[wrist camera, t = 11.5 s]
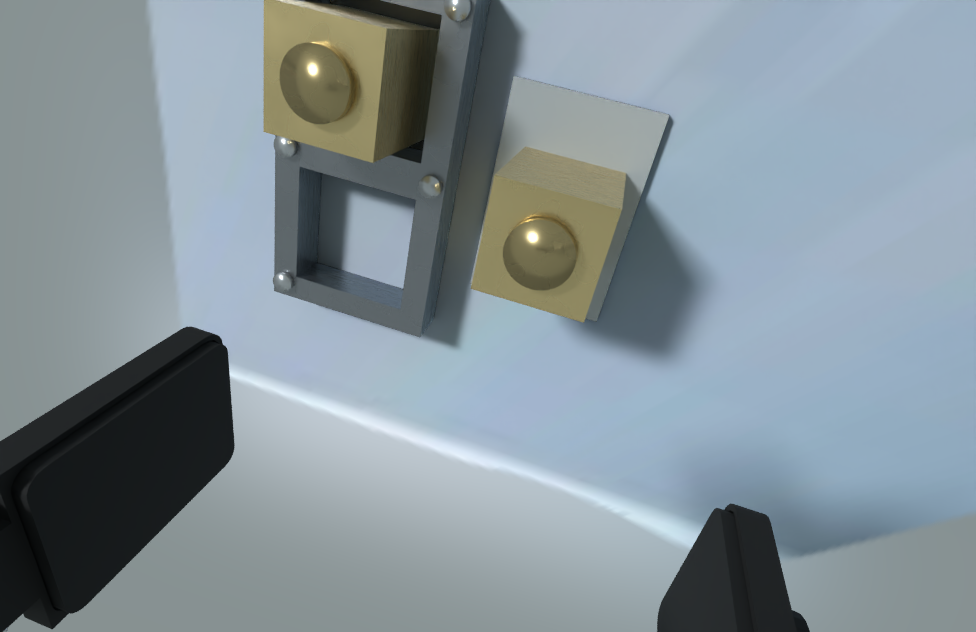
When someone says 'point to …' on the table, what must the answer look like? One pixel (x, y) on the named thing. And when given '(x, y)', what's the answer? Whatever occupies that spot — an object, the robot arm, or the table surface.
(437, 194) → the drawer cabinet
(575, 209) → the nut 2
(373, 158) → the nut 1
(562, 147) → the mat
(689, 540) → the table surface
